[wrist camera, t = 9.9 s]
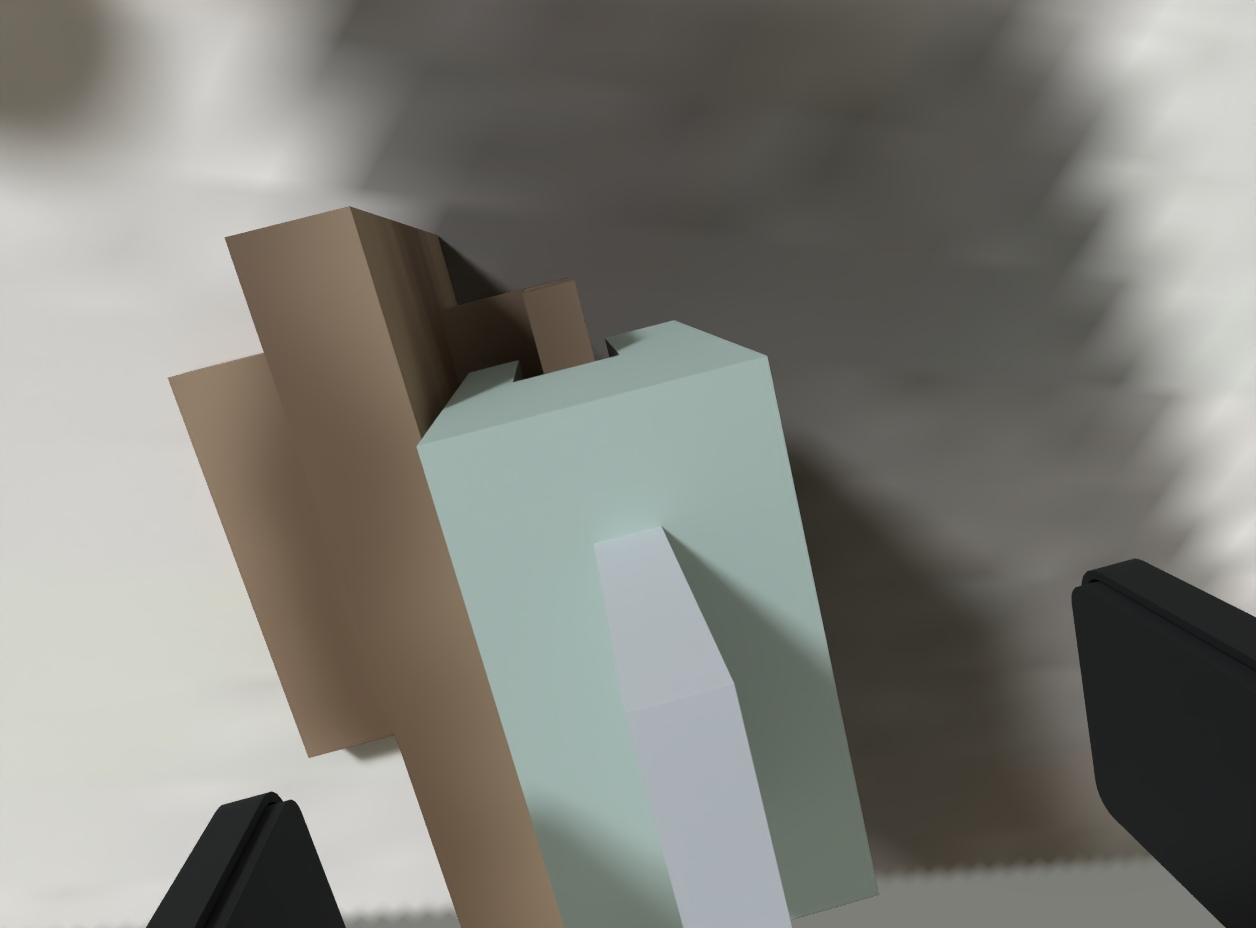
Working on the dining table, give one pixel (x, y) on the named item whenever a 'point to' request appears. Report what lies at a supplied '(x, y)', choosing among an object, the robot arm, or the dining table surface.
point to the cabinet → (653, 633)
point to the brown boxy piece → (376, 517)
